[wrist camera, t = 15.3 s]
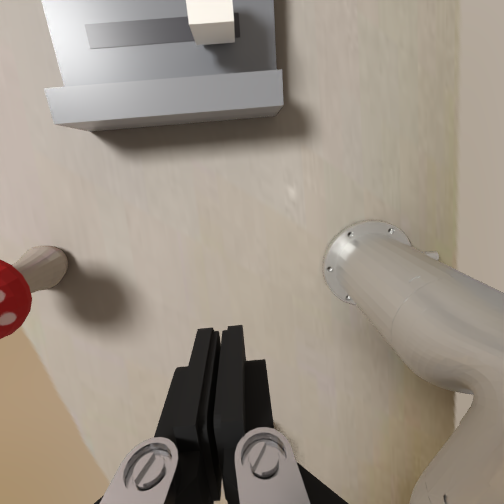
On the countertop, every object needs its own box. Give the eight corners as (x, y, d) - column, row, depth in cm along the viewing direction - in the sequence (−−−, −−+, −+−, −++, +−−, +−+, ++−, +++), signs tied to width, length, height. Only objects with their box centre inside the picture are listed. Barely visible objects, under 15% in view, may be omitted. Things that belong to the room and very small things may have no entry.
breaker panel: (266, -60, 27) (274, -125, 21) (275, 116, 32) (283, 105, 26) (46, -44, 27) (-12, -106, 21) (90, 131, 32) (54, 124, 26)
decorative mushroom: (39, 217, 35) (-100, 255, 20) (96, 260, 37) (7, 321, 23) (-1, 269, 37) (-152, 337, 22) (56, 307, 39) (-49, 391, 25)
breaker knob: (230, -4, 26) (228, -51, 20) (235, 50, 27) (234, 21, 21) (193, -1, 26) (179, -48, 20) (199, 53, 27) (188, 24, 21)
